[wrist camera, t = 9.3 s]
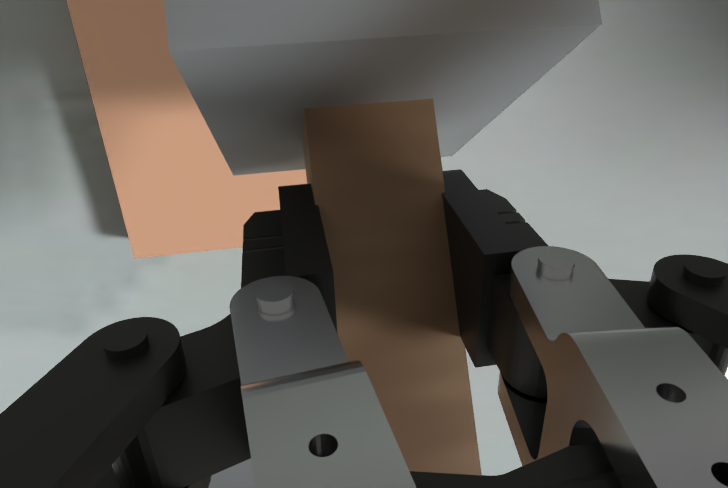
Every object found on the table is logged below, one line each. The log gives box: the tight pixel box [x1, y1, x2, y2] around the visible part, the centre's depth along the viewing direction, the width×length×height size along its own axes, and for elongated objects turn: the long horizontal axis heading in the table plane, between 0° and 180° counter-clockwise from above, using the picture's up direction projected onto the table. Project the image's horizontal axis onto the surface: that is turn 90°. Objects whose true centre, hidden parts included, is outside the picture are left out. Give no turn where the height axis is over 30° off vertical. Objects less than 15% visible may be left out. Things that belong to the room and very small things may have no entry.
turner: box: [164, 0, 602, 475], centre depth 12 cm, size 6×8×9 cm
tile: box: [66, 0, 307, 258], centre depth 19 cm, size 2×9×8 cm
